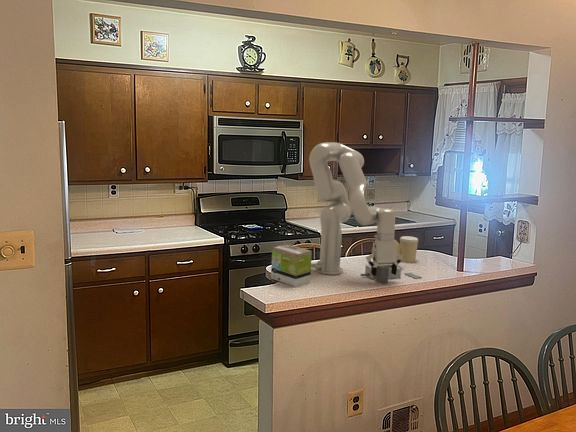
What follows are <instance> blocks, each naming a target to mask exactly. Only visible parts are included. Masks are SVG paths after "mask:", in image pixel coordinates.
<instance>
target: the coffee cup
mask: <svg viewBox="0 0 576 432" xmlns="http://www.w3.org/2000/svg"><path fill="white" fill-rule="evenodd" d="M399 244H400V245H401V247H402V256H403V257H402V259H401V262H402V261H403V263H415V262H416V258H417V257H416V256H417V252H418V245H419V238H418V237H415V236H412V235H411V236H410V235H409V236H408V235H405V236H404V235H403V236H401V237H400V238H399Z"/></svg>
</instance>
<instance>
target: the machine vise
mask: <svg viewBox="0 0 576 432" xmlns="http://www.w3.org/2000/svg"><path fill="white" fill-rule="evenodd" d="M384 265H385V266H387V267H388V268H389V276H388V280H390V279H391V278H393V279H401V277H402V275H401V274H402V268H401V267H399V266H397V272H396V275H394V274H392V273H391V269H392V264H382V265H379V264H377V265H376V268H377V266H384ZM364 269H365V271H364V273H360V277H368V278H369V279H371V280H373V281H374V280H375V281H376V276H373V275H372V274H371V266H370V264H365V268H364Z"/></svg>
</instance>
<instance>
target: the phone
mask: <svg viewBox="0 0 576 432" xmlns="http://www.w3.org/2000/svg"><path fill="white" fill-rule="evenodd" d="M404 274H405V276H407V277H409V278H411V277H412V278H411V279H414V280H417V279H422V276H419V275H418V274H415V273H412V272H406V273H405V272H404V273H403V275H404Z"/></svg>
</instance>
